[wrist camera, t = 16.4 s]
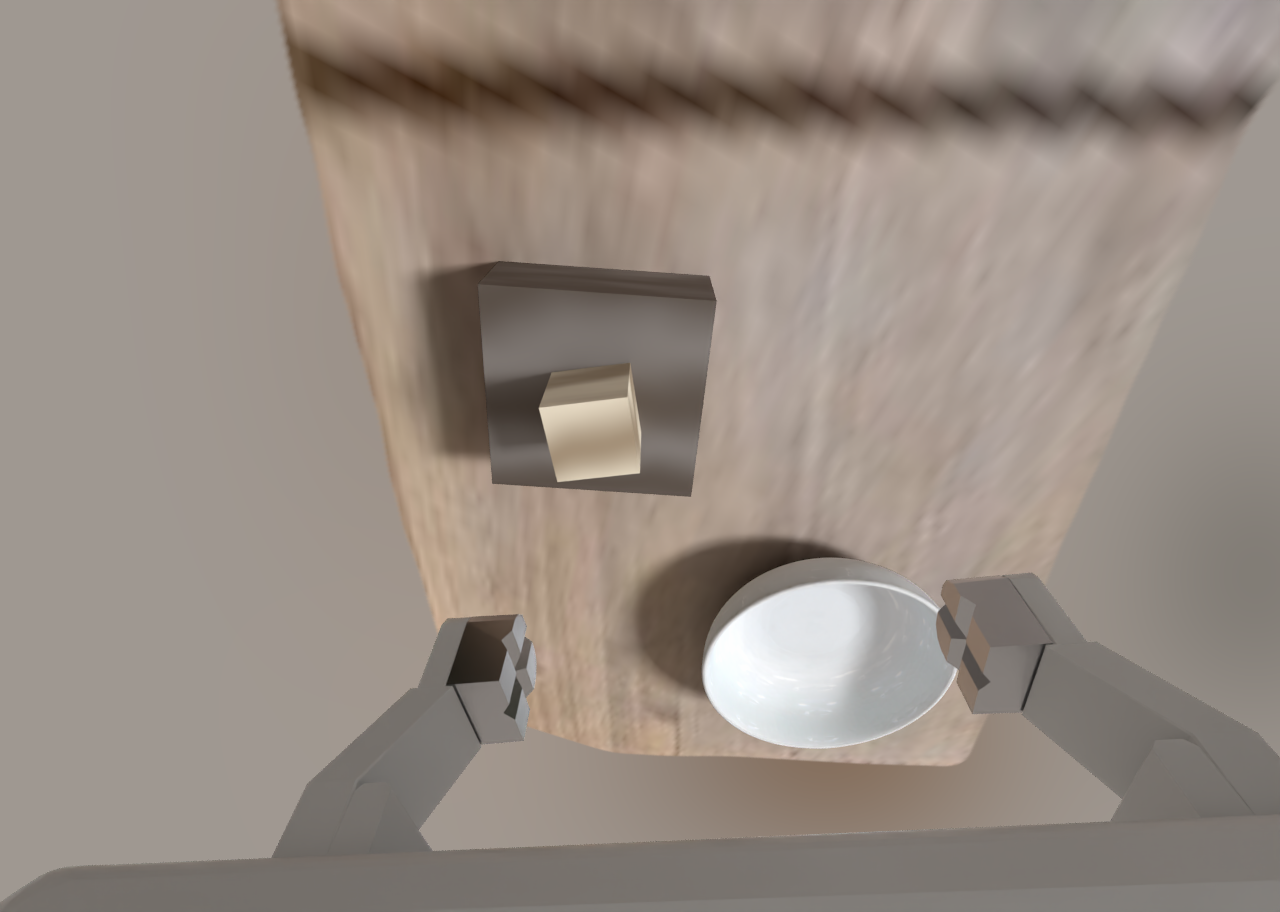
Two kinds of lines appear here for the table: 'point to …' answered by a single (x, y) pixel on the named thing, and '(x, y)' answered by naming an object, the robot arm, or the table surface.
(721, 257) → the table surface
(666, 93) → the table surface
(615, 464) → the birch cube
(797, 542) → the table surface
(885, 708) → the serving bowl
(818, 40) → the table surface
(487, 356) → the charcoal riser block
